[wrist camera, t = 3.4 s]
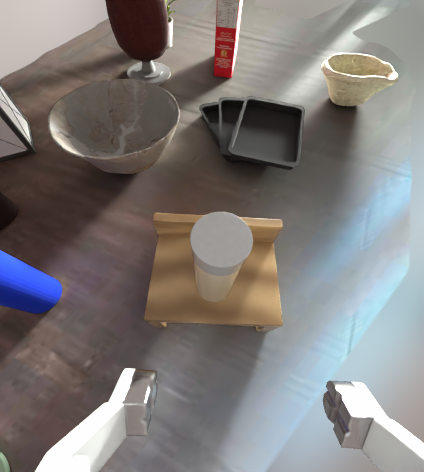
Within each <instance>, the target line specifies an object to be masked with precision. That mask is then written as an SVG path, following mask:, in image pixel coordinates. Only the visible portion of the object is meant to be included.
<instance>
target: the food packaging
mask: <svg viewBox="0 0 424 472" xmlns="http://www.w3.org/2000/svg"><path fill="white" fill-rule="evenodd" d="M242 1H243V0H217V15H216V37H215V60H214V76H220V77H228V78H232V73H233V68H234V63H235V59H236V53H237V45H238V36H239V27H240V19H241V10H242Z"/></svg>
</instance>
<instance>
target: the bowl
mask: <svg viewBox="0 0 424 472" xmlns="http://www.w3.org/2000/svg"><path fill="white" fill-rule="evenodd" d="M321 69H322V72H323V74H324V76H325V79H326V83H327V86H328V91H329V97H330V99H331V101H332V102H333V103H335V104H336V105H340V106H355V105H360V104H363V103H364V102H366V101H367V100H368V99H369V98H370V97H372V96H373V95H374V94H376V93H377V92H379V91H381V90H383V89H385V88H386V87H389V86H391V85H393V84H395V83H396V82H397V81H398V74H397V73H396V72H395V71H394V69H393V67H392V66H391V65H390V64H389V63H387V62H382V61H381V60H379V59H377V58H375V57H373V56H369V55H363V54H358V53H357V54H356V53H340V54H335V55H332V56H330V57H328V58H327V59H326V60H325V61H324V62H323V64H322V66H321Z"/></svg>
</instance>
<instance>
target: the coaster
mask: <svg viewBox="0 0 424 472" xmlns="http://www.w3.org/2000/svg"><path fill="white" fill-rule="evenodd" d="M0 472H10V468H9V464H8V461H7V459H6V457H5V456H4V455H3V454H2V453H1V452H0Z"/></svg>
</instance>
